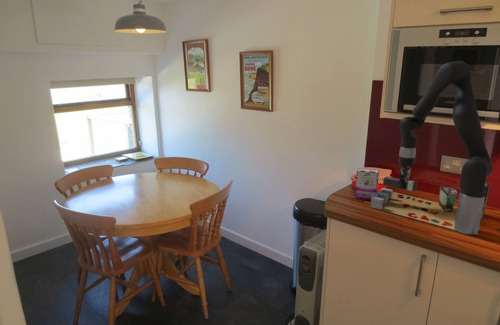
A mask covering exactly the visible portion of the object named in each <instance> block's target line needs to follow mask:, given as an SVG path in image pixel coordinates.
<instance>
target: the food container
mask: <svg viewBox="0 0 500 325" xmlns="http://www.w3.org/2000/svg"><path fill="white" fill-rule="evenodd" d="M438 198H439V199H438V204H437V205H438V206H439V208H440V209H441V210H442V209H443V210H442V211H443V212H444V213H450V212H453V209H454V207H455V206H454V205H455V202H456V199H457V198H459V195H458V191H457V190H456V189H454V188H451V187H447V186H440V187H439V196H438Z"/></svg>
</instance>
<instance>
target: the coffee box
mask: <svg viewBox="0 0 500 325" xmlns="http://www.w3.org/2000/svg"><path fill="white" fill-rule="evenodd" d="M490 187H491V182H486V181H485V189H486V195H485V199H484V204H483V209H482V215H481V220H482V219H483V217H484V215H485V212H486V211H485V210H486V208H487V207H486V206H487V201H488V197H489V192H490Z"/></svg>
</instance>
